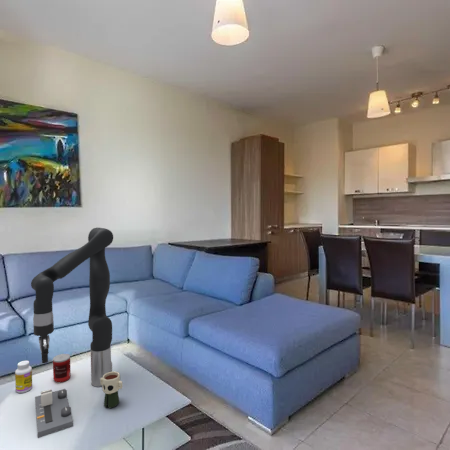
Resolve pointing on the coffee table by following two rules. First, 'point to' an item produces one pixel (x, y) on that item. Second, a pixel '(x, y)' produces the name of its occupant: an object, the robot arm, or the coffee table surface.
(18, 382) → the supplement bottle
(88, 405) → the coffee table surface
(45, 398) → the fader cap
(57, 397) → the console board
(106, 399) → the character mug
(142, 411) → the coffee table surface
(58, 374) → the canned food
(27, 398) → the coffee table surface
